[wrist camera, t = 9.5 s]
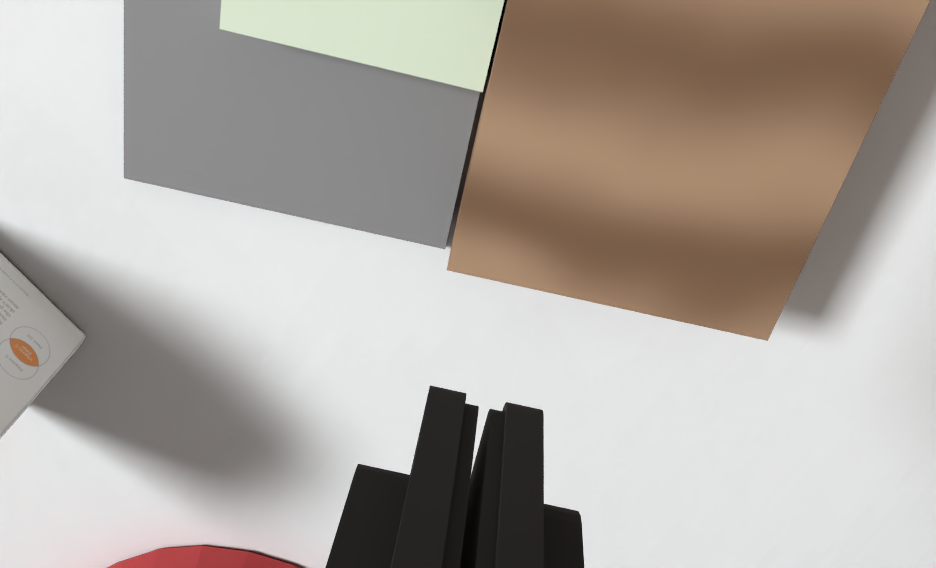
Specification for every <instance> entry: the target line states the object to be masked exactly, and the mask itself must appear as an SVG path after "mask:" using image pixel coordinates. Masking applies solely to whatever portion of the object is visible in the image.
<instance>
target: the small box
mask: <svg viewBox="0 0 936 568" xmlns="http://www.w3.org/2000/svg"><path fill="white" fill-rule="evenodd" d="M85 338H86V336H85V334H84V333H83V332H82V331H81V330H79V329H78V328H77V327H76V326H75V325H74V324H73V323H72V322H71V321H70V320H69V319H68V318H67V317H66V316H65V315H64V314H63V313H62V312H61V311H60V310H59V309H58V308H56V307H55V306H54V305H53V304H52V303H51V302H50V301H49V300H48V299H47V298H46V297H45V296H44V295H43V294H42V293H41V292H40V291H39V290H38V289H37V288H36V287H35V286H34V285H33V284H32V283H31V282H30V281H29V280H28V279H27V278H26V277H25V276H24V275H23V274H22V273H21V272H20V271H19V270H18V269H17V268H16V267H15V266H14V265H13V264H11V263H10V262H9V261H8V260H7V259H6V258H5V257H4V256H3V255H2V254H1V253H0V438H1V437H2V436H3V435H4V434H5V433H6V431H7V430H8V429H9V428H10V427H11V426H12V425H13V424H14V422H15V421H16V420H17V419H18V418H19V417H20V415H21V414H22V413H23V412H24V411H25V410H26V409H27V407H28V406H29V405H30V404H31V403H32V402H33V401H34V399H35V398H36V397H37V396H38V395H39V394H40V392H41V391H42V390H43V389H44V388H45V387H46V385H47V384H48V383H49V382H50V381H51V380H52V378H53V377H54V376H55V375H56V374H57V373H58V371H59V370H60V369H61V368H62V367H63V366H64V364H65V363H66V362H67V361H68V360H69V359H70V357H71V356H72V355H73V354H74V353H75V351H76V350H77V349H78V348H79V347H80V345H81V344H82V343H83V341H84V340H85Z"/></svg>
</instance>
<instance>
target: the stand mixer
mask: <svg viewBox="0 0 936 568" xmlns="http://www.w3.org/2000/svg"><path fill="white" fill-rule="evenodd" d="M108 568H298V567H296V566H294V565H292V564H288V563H285V562H282V561H278V560H275V559H272V558H269V557H265V556H262V555H259V554H255V553H252V552H247V551H240V550H232V549H224V548H216V547H209V546H190V547H176V548H162V549H157V550H154V551H151V552H148V553H145V554H142V555H139V556H136V557H133V558H130V559H127V560H124V561H121V562H118V563H116V564H114V565H112V566H110V567H108Z"/></svg>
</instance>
